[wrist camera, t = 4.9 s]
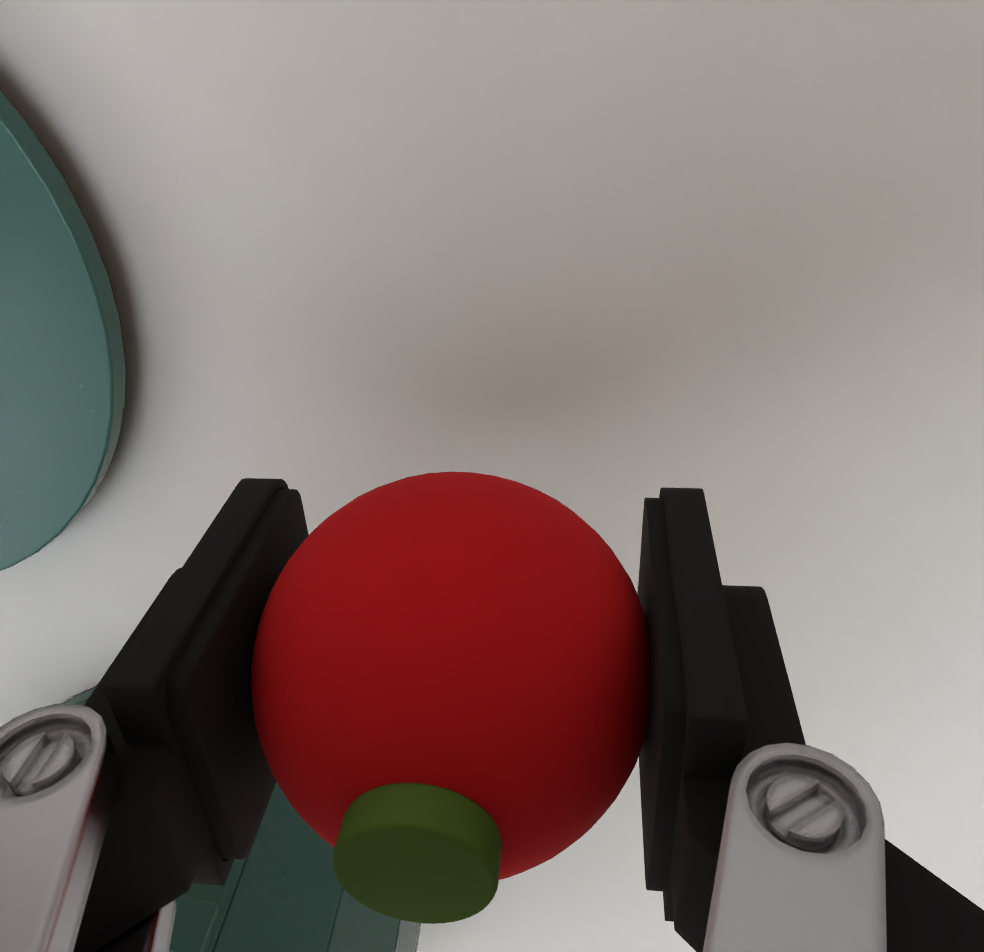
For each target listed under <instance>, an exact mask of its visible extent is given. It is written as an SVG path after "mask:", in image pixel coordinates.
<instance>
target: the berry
mask: <svg viewBox="0 0 984 952" xmlns="http://www.w3.org/2000/svg"><path fill="white" fill-rule="evenodd" d="M251 693H252V706H253V712H254V718H255V724H256V728H257V732H258V736H259V740H260V744H261V746H262V749H263V752H264V755H265V757H266V760H267V762H268V765H269V767H270V769H271V772H272V774H273V776H274V778H275V779H276V781H277V783H278V784H279V786H280V788H281V789H282V791H283V793H284V794H285V796H286V797H287V799H288V801H289V802H290V804H291V805H292V807H293V808H294V809H295V810H296V811H297V813H298V814H299V815H300V816H301V817H302V818H303V820H304V821H305V822H306V823H307V824H308V825H309V826H310V827H311V828H312V829H313V830H314V831H315V832H316V833H317V834H318V835H319V836H320V837H321V838H323V839H324V840H325V841H326V842H327V843H329V844H330V845H331V846H333V847H334V852H333V859H332V863H333V869H334V873H335V876H336V878H337V880H338V882H339V883H340V885H341V886H342V888H343V889H344V890H345V891H346V892H347V893H348V894H349V895H350V896H351V897H352V898H354V899H355V900H356V901H358V902H359V903H361V904H362V905H364V906H366V907H367V908H369V909H371V910H373V911H375V912H378V913H380V914H383V915H386V916H389V917H392V918H395V919H399V920H403V921H409V922H416V923H432V924H435V923H447V922H454V921H458V920H462V919H465V918H468V917H471V916H473V915H475V914H477V913H478V912H480V911H481V910H483V909H484V908H485V907H486V906H487V905H488V904H489V903H490V901H491V900H492V899H493V897H494V895H495V893H496V891H497V887H498V881H499V880H500V879H504V878H508V877H511V876H513V875H516V874H519V873H522V872H524V871H526V870H528V869H531V868H533V867H535V866H537V865H539V864H541V863H543V862H545V861H547V860H549V859H551V858H553V857H554V856H556V855H557V854H559V853H560V852H562V851H563V850H565V849H566V848H567V847H569V846H570V845H571V844H573V843H574V842H575V841H577V840H578V839H579V838H581V837H582V836H583V835H584V834H585V833H586V832H587V831H588V830H589V829H590V828H592V826H593V825H594V824H595V823H596V822H597V821H598V820H599V819H600V818H601V816H602V815H603V814H604V813H605V812H606V811H607V809H608V808H609V807H610V806H611V804H612V803H613V802H614V801H615V799H616V798H617V796H618V794H619V793H620V791H621V790H622V788H623V786H624V785H625V783H626V781H627V779H628V778H629V776H630V774H631V772H632V770H633V768H634V766H635V764H636V762H637V759H638V756H639V754H640V751H641V749H642V746H643V743H644V740H645V736H646V733H647V728H648V718H649V700H650V652H649V633H648V626H647V620H646V616H645V613H644V610H643V608H642V605H641V602H640V600H639V597H638V595H637V593H636V590H635V588H634V586H633V584H632V581H631V579H630V577H629V576H628V574H627V573H626V571H625V569H624V568H623V566H622V565H621V563H620V562H619V560H618V559H617V557H616V556H615V554H614V552H613V551H612V549H611V548H610V547H609V546H608V545H607V544H606V542H605V541H604V540H603V539H602V538H601V537H600V535H599V534H598V533H597V532H596V531H595V530H593V529H592V528H591V527H590V526H589V525H588V524H587V523H586V522H585V521H583V520H582V519H581V518H580V517H579V516H578V515H577V514H576V513H574V512H573V511H572V510H570V509H569V508H567V507H566V506H564V505H563V504H562V503H560V502H559V501H557V500H556V499H554V498H552V497H550V496H548V495H546V494H544V493H542V492H540V491H538V490H536V489H534V488H531V487H529V486H526V485H524V484H521V483H518V482H516V481H512V480H508V479H504V478H501V477H497V476H492V475H485V474H478V473H470V472H440V473H428V474H423V475H417V476H412V477H407V478H404V479H401V480H398V481H395V482H392V483H389V484H386V485H383V486H380V487H378V488H375V489H373V490H371V491H369V492H367V493H365V494H363V495H361V496H359V497H357V498H356V499H354V500H353V501H351V502H350V503H348V504H347V505H345V506H344V507H342V508H341V509H339V510H338V511H336V512H335V513H333V514H332V515H330V516H329V517H328V518H327V519H326V520H325V521H323V522H322V523H321V524H320V525H319V526H318V527H317V528H316V529H315V530H314V531H313V532H312V533H311V534H310V535H309V536H308V537H307V538H306V539H305V540H304V541H303V542H302V544H301V545H300V546H299V547H298V549H297V550H296V551H295V552H294V554H293V555H292V556H291V558H290V559H289V560H288V562H287V564H286V565H285V567H284V568H283V570H282V572H281V573H280V575H279V577H278V579H277V581H276V582H275V584H274V586H273V588H272V590H271V592H270V594H269V597H268V599H267V602H266V605H265V607H264V610H263V613H262V616H261V619H260V622H259V625H258V629H257V634H256V639H255V644H254V649H253V658H252V666H251Z"/></svg>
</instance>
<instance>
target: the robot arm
mask: <svg viewBox="0 0 984 952" xmlns="http://www.w3.org/2000/svg"><path fill="white" fill-rule="evenodd" d="M307 537H308V531H307V525H306V520H305V515H304V510H303V505H302V500H301V496H300V494H299V492H298V491H297V490H296V489H289V488H288V485H287V484H286V482H285V481H284V480H282V479H254V478H245V479H242V480H241V481H240V482H239V483H238V485H237V486H236V488H235V489H234V491H233V492H232V494H231V495H230V497H229V498H228V500H227V501H226V503H225V504H224V506H223V507H222V509H221V510H220V512H219V513H218V515H217V516H216V518H215V519H214V521H213V522H212V524H211V525H210V527H209V528H208V530H207V531H206V533H205V534H204V536H203V537H202V539H201V540H200V542H199V543H198V545H197V546H196V548H195V549H194V551H193V552H192V554H191V555H190V557H189V558H188V560H187V561H186V563H185V564H184V566H183V567H182V568H179V569H177V570H176V571H175V572H174V573H173V575H172V576H171V577H170V578H169V580H168V581H167V583H166V584H165V586H164V587H163V589H162V590H161V592H160V593H159V595H158V596H157V598H156V599H155V601H154V602H153V603H152V605H151V606H150V608H149V609H148V611H147V612H146V614H145V615H144V617H143V618H142V620H141V621H140V623H139V624H138V626H137V627H136V629H135V630H134V632H133V633H132V635H131V636H130V638H129V639H128V641H127V642H126V644H125V645H124V646H123V648H122V649H121V651H120V652H119V654H118V655H117V657H116V658H115V660H114V661H113V663H112V664H111V666H110V667H109V669H108V670H107V672H106V673H105V675H104V676H103V678H102V679H101V681H100V682H99V684H98V685H97V686H96V688H95V689H94V691H93V692H92V694H91V695H90V697H89V698H88V700H87V701H86V703H85V704H84V706H82V705H78V704H54V705H50V706H46V707H42V708H38V709H34V710H32V711H30V712H27V713H25V714H23V715H21V716H18V717H16V718H14V719H12V720H11V721H9V722H8V723H6V724H5V725H3V726H2V727H0V952H169V947H170V942H171V936H172V930H173V924H174V919H175V913H176V899H177V898H178V897H180V896H181V895H183V894H185V893H186V892H188V891H189V888H190V886H191V884H192V883H195V884H208V885H220V886H224V885H225V883H226V880H227V878H228V875H229V873H230V870H231V867H232V865H233V862H234V860H235V859H241V860H242V859H244V858H246V856H247V855H248V854H249V851H250V849H251V847H252V845H253V842H254V839H255V837H256V834H257V831H258V829H259V826H260V824H261V821H262V818H263V816H264V813H265V811H266V808H267V805H268V803H269V800H270V797H271V795H272V792H273V790H274V787H275V784H276V782H277V781H276V779H275V778H274V776H273V774H272V772H271V769H270V767H269V765H268V762H267V760H266V757H265V755H264V752H263V749H262V746H261V744H260V740H259V736H258V732H257V728H256V724H255V718H254V712H253V706H252V693H251V666H252V658H253V649H254V644H255V639H256V634H257V629H258V625H259V622H260V619H261V616H262V613H263V610H264V607H265V605H266V602H267V599H268V597H269V594H270V592H271V590H272V588H273V586H274V584H275V582H276V581H277V579H278V577H279V575H280V573H281V572H282V570H283V568H284V567H285V565H286V564H287V562H288V560H289V559H290V558H291V556H292V555H293V554H294V552H295V551H296V550H297V549H298V547H299V546H300V545H301V544H302V542H303V541H304V540H305V539H306V538H307ZM638 597H639V600H640V602H641V605H642V608H643V610H644V613H645V616H646V620H647V626H648V633H649V652H650V700H649V718H648V728H647V733H646V736H645V740H644V743H643V746H642V749H641V751H640V754H639V768H640V787H641V806H642V826H643V845H644V864H645V881H646V889H647V890H653V891H663V899H664V913H665V921H674V929H675V931H676V932H677V933H678V934H679V935H680V936H681V937H682V938H683V939H684V940H685V941H686V942H687V943H688V944H689V945H690V946H691V947H692V948H693V949H694V950H695V951H696V952H984V910H982V909H981V908H979V907H978V906H977V905H975V904H974V903H973V902H971V901H970V900H968V899H967V898H966V897H964V896H963V895H962V894H960V893H959V892H957V891H956V890H955V889H953V888H952V887H951V886H949V885H948V884H946V883H945V882H944V881H942V880H941V879H940V878H938V877H937V876H935V875H934V874H933V873H931V872H930V871H929V870H927V869H926V868H924V867H923V866H922V865H920V864H919V863H918V862H916V861H915V860H913V859H912V858H911V857H909V856H908V855H907V854H905V853H904V852H902V851H901V850H900V849H898V848H897V847H896V846H894V845H893V844H891V843H890V842H889V841H887V840H886V839H885V831H884V819H883V814H882V809H881V804H880V801H879V800H878V798H877V796H876V795H875V793H874V791H873V790H872V788H871V786H870V784H869V783H868V782H867V781H866V780H865V779H864V778H863V777H862V776H861V775H860V774H859V773H858V772H857V771H856V770H855V769H854V768H853V767H852V766H850V765H849V764H847V763H846V762H844V761H842V760H841V759H839V758H838V757H836V756H834V755H833V754H831V753H828V752H825V751H823V750H820V749H817V748H814V747H812V746H808V745H806V744H805V740H804V736H803V732H802V729H801V725H800V721H799V717H798V713H797V709H796V706H795V702H794V698H793V694H792V690H791V687H790V683H789V679H788V675H787V671H786V668H785V664H784V660H783V656H782V652H781V648H780V645H779V641H778V637H777V633H776V629H775V626H774V622H773V618H772V614H771V610H770V607H769V603H768V599H767V596H766V593H765V590H764V589H763V588H762V587H756V586H727V585H722V583H721V578H720V573H719V567H718V562H717V557H716V552H715V547H714V542H713V537H712V532H711V527H710V522H709V517H708V511H707V506H706V501H705V496H704V492H703V489H700V488H661V489H660V495H659V498H645V501H644V512H643V526H642V541H641V556H640V570H639V585H638Z"/></svg>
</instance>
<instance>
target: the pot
mask: <svg viewBox="0 0 984 952" xmlns="http://www.w3.org/2000/svg"><path fill="white" fill-rule="evenodd" d="M95 688H96V687H95ZM95 688H92V689H90V690H88V691H86V692H84V693H82V694H79V695H77V696H75V697H73V698H72V699H70V700H69V701H67V702H66V703H64V704H78V705H82V706H84V704H85V703H86V701H87V700H88V698H89V697H90V695H91V694H92V692H93V691H94V689H95ZM333 852H334V847H333V846H331V845H330V844H329V843H327V842H326V841H325V840H324V839H323V838H321V837H320V836H319V835H318V834H317V833H316V832H315V831H314V830H313V829H312V828H311V827H310V826H309V825H308V824H307V823H306V822H305V821H304V820H303V818H302V817H301V816H300V815H299V814H298V813H297V811H296V810H295V809H294V808H293V807H292V805H291V804H290V802H289V801H288V799H287V797H286V796H285V794H284V793H283V791H282V789H281V788H280V786H279V784H278V783H277V782H276V784H275V787H274V790H273V792H272V795H271V797H270V800H269V803H268V805H267V808H266V811H265V813H264V816H263V818H262V821H261V824H260V826H259V829H258V831H257V834H256V837H255V839H254V842H253V845H252V847H251V849H250V851H249V854H248V855H247V856H246V858H244V859H242V860H241V859H235V860H234V862H233V865H232V867H231V870H230V873H229V875H228V878H227V880H226V883H225V885H224V886H220V885H208V884H195V883H192V884H191V886H190V888H189V891H188V892H186V893H185V894H183V895H181V896H180V897H178V898H177V899H176V913H175V919H174V924H173V930H172V936H171V942H170V947H169V952H416V951H417V945H418V938H419V932H420V926H421V923H416V922H409V921H403V920H399V919H395V918H392V917H389V916H386V915H383V914H380V913H378V912H375V911H373V910H371V909H369V908H367V907H366V906H364V905H362V904H361V903H359V902H358V901H356V900H355V899H354V898H352V897H351V896H350V895H349V894H348V893H347V892H346V891H345V890H344V889H343V888H342V886H341V885H340V883H339V882H338V880H337V878H336V876H335V873H334V869H333V863H332V859H333Z"/></svg>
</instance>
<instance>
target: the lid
mask: <svg viewBox="0 0 984 952" xmlns="http://www.w3.org/2000/svg"><path fill="white" fill-rule="evenodd" d="M124 405H125V357H124V349H123V341H122V333H121V325H120V320H119V316H118V312H117V308H116V304H115V300H114V296H113V293H112V289H111V285H110V281H109V277H108V274H107V272H106V269H105V267H104V264H103V261H102V259H101V256H100V254H99V251H98V248H97V246H96V243H95V241H94V238H93V236H92V233H91V230H90V228H89V226H88V224H87V222H86V220H85V218H84V216H83V214H82V213H81V211H80V209H79V207H78V205H77V203H76V201H75V199H74V197H73V195H72V193H71V191H70V189H69V187H68V185H67V183H66V182H65V180H64V178H63V177H62V175H61V173H60V172H59V170H58V169H57V167H56V166H55V164H54V163H53V161H52V160H51V158H50V157H49V155H48V153H47V152H46V150H45V149H44V147H43V146H42V144H41V143H40V141H39V140H38V138H37V137H36V135H35V133H34V132H33V130H32V129H31V128H30V127H29V125H28V124H27V123H26V122H25V120H24V119H23V118H22V117H21V115H20V114H19V113H18V111H17V110H16V109H15V108H14V106H13V105H12V104H11V103H10V101H9V100H8V99H7V98H6V96H5V95H4V94H3V93H2V91H1V90H0V571H1V570H4V569H6V568H9V567H12V566H13V565H15V564H17V563H19V562H21V561H22V560H24V559H26V558H28V557H30V556H31V555H33V554H35V553H37V552H38V551H40V550H41V549H42V548H43V547H45V546H46V545H47V544H48V543H49V542H51V541H52V540H53V539H54V538H56V537H57V536H58V535H59V534H61V533H62V532H63V531H64V529H65V528H66V527H67V526H68V525H69V524H70V523H71V522H72V521H73V520H74V518H75V517H76V516H77V515H78V514H79V512H80V511H81V510H82V509H83V508H84V507H85V505H86V504H87V503H88V502H89V501H90V500H91V498H92V497H93V495H94V493H95V492H96V490H97V488H98V486H99V485H100V483H101V481H102V479H103V478H104V476H105V474H106V472H107V471H108V468H109V465H110V462H111V459H112V457H113V454H114V451H115V448H116V445H117V442H118V440H119V434H120V428H121V422H122V417H123V411H124Z"/></svg>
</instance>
